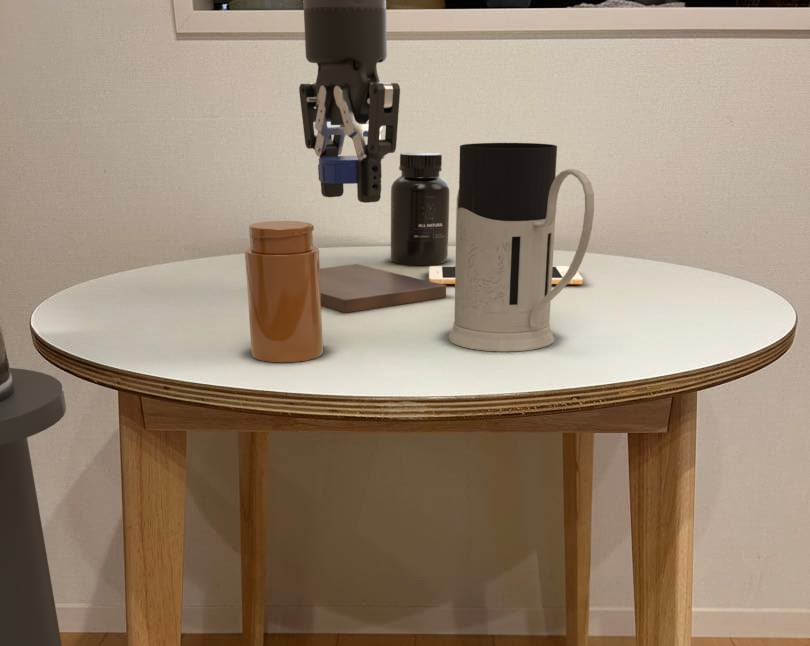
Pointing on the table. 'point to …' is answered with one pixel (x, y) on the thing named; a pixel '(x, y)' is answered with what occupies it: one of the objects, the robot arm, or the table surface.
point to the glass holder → (509, 245)
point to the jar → (284, 292)
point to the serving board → (372, 288)
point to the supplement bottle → (420, 211)
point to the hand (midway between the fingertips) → (350, 198)
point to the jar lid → (338, 169)
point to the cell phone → (448, 275)
